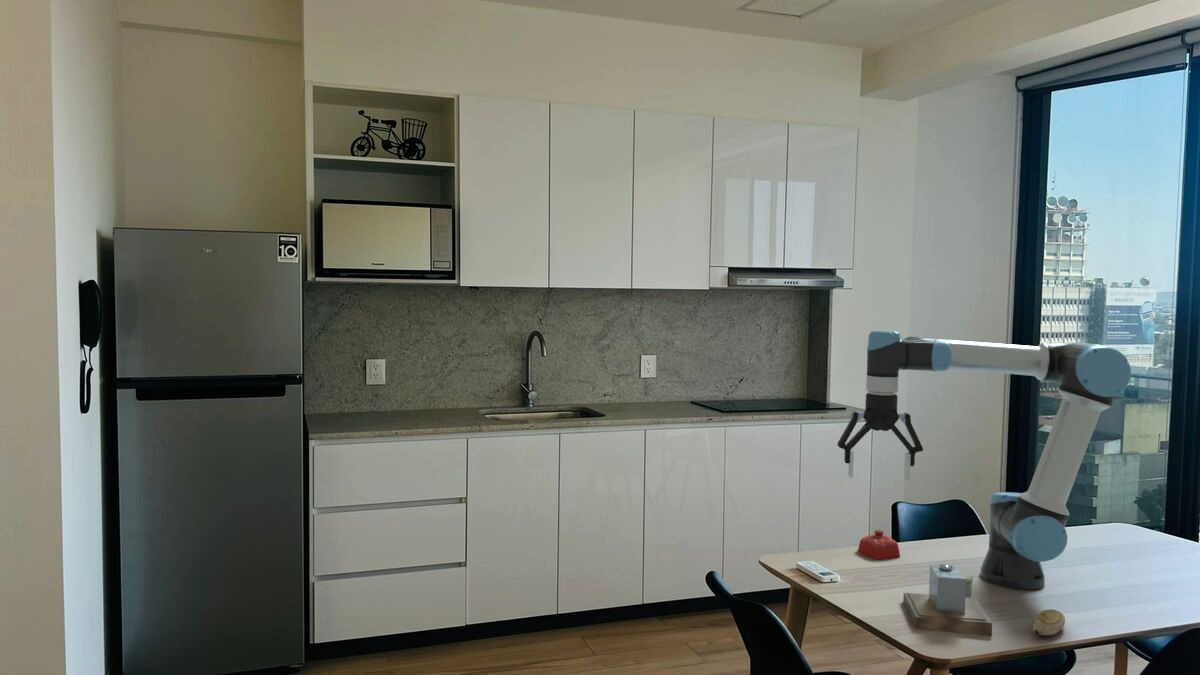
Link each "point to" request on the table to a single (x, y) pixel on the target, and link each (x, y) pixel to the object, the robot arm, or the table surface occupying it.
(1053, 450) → the robot arm
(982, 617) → the walnut riser
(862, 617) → the table surface
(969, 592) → the slate ceramic salt pot
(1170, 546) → the table surface
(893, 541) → the butter dish
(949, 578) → the grey knobbed box
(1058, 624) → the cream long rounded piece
